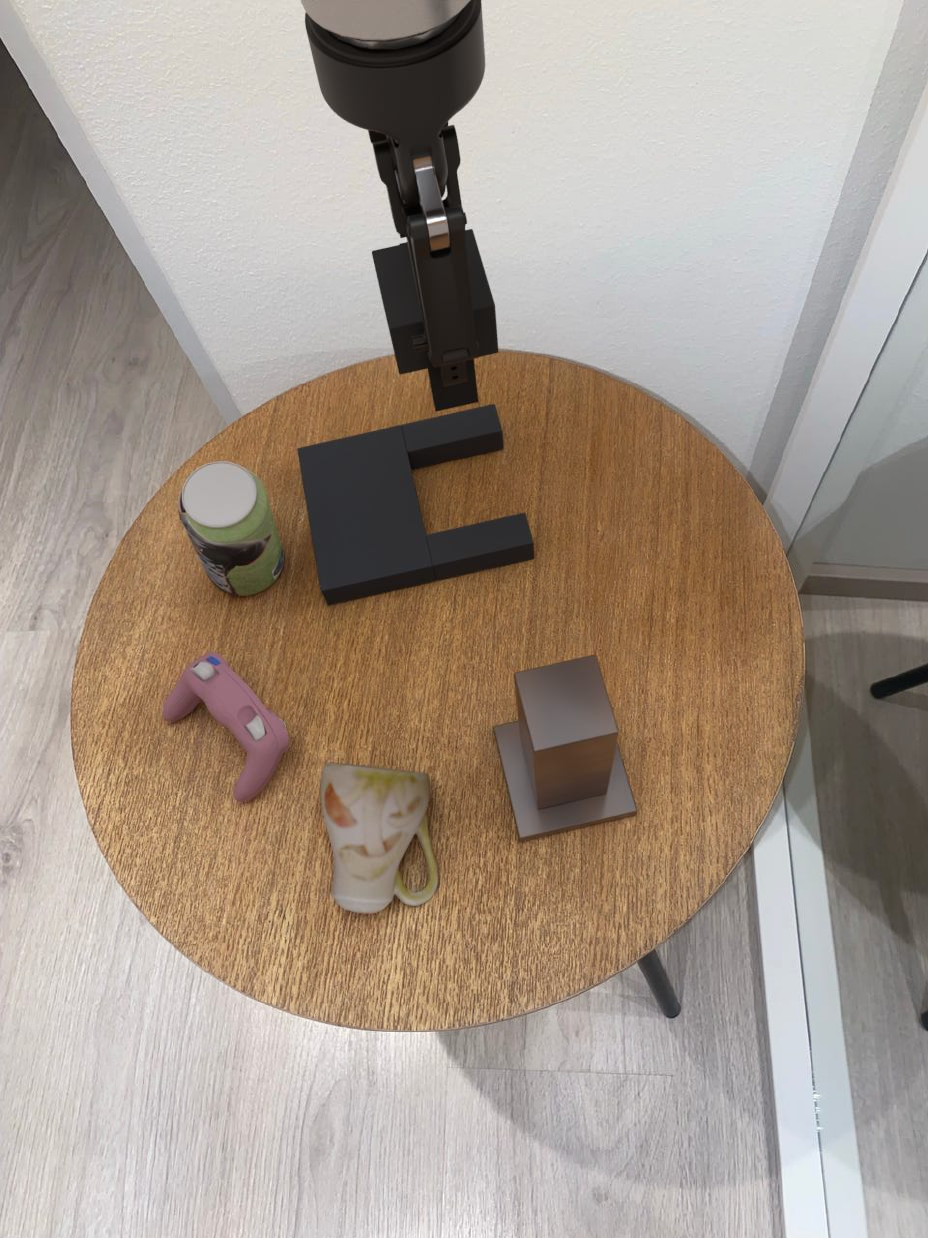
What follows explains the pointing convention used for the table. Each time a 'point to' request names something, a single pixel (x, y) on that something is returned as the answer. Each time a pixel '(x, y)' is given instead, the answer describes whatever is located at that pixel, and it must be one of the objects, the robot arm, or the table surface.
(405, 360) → the black square block
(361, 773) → the mug
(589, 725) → the stand
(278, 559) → the beverage can
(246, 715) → the video game controller
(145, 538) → the table surface
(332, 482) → the base pad
